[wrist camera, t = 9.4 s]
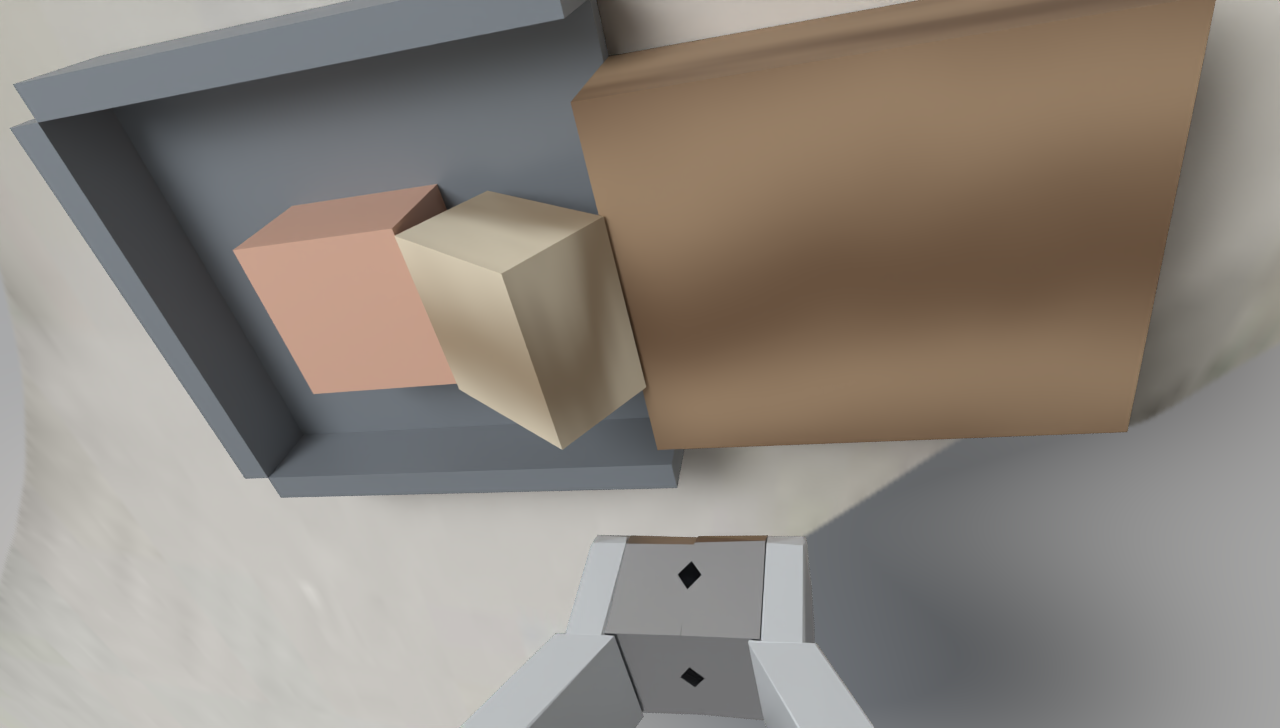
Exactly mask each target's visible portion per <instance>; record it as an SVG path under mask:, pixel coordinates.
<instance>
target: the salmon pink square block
mask: <svg viewBox="0 0 1280 728" xmlns="http://www.w3.org/2000/svg"><path fill="white" fill-rule="evenodd" d="M444 211H447V209H446V206H445V204H444V201H443V198H442V196H441V193H440V190H439V188H438V185H437V184H434V185H427V186H421V187H414V188H407V189H401V190H394V191H387V192H381V193H374V194H368V195H361V196H354V197H348V198H341V199H335V200H328V201H321V202H315V203H308V204H301V205H295V206H291V207H290V208H289V209H287V210H286V211H285V212H283V213H282V214H281V215H279V216H278V217H277V218H275V219H274V220H273V221H271V222H270V223H268V224H267V225H266V226H264V227H263V228H262V229H260V230H259V231H258V232H256V233H255V234H254V235H252V236H251V237H250V238H248V239H247V240H246V241H244V242H243V243H242V244H240V245H239V246H238V247H236V248H235V249H234V250H233V252H234V254H235V255H236V257H237V259H238V261H239V263H240V264H241V266H242V268H243V270H244V271H245V273H246V275H247V277H248V278H249V280H250V282H251V284H252V286H253V287H254V289H255V291H256V293H257V294H258V296H259V298H260V300H261V302H262V303H263V305H264V307H265V309H266V310H267V312H268V314H269V316H270V318H271V319H272V321H273V323H274V325H275V326H276V328H277V330H278V332H279V334H280V335H281V337H282V339H283V341H284V342H285V344H286V346H287V348H288V349H289V351H290V353H291V355H292V357H293V358H294V360H295V362H296V364H297V365H298V367H299V369H300V371H301V373H302V374H303V376H304V378H305V380H306V381H307V383H308V385H309V387H310V389H311V390H312V392H313V394H321V393H334V392H348V391H362V390H376V389H390V388H404V387H417V386H431V385H445V384H457V383H456V381H455V378H454V376H453V374H452V371H451V369H450V366H449V364H448V362H447V359H446V357H445V355H444V352H443V350H442V348H441V345H440V343H439V340H438V338H437V336H436V333H435V331H434V329H433V326H432V324H431V322H430V319H429V317H428V314H427V312H426V310H425V307H424V305H423V303H422V300H421V298H420V295H419V293H418V291H417V288H416V286H415V284H414V281H413V279H412V277H411V274H410V272H409V269H408V267H407V265H406V262H405V260H404V258H403V255H402V253H401V250H400V248H399V246H398V243H397V241H396V239H395V235H397V234H399V233H401V232H403V231H405V230H407V229H409V228H412V227H414V226H416V225H418V224H420V223H422V222H424V221H426V220H428V219H430V218H432V217H434V216H436V215H438V214H440V213H442V212H444Z"/></svg>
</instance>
